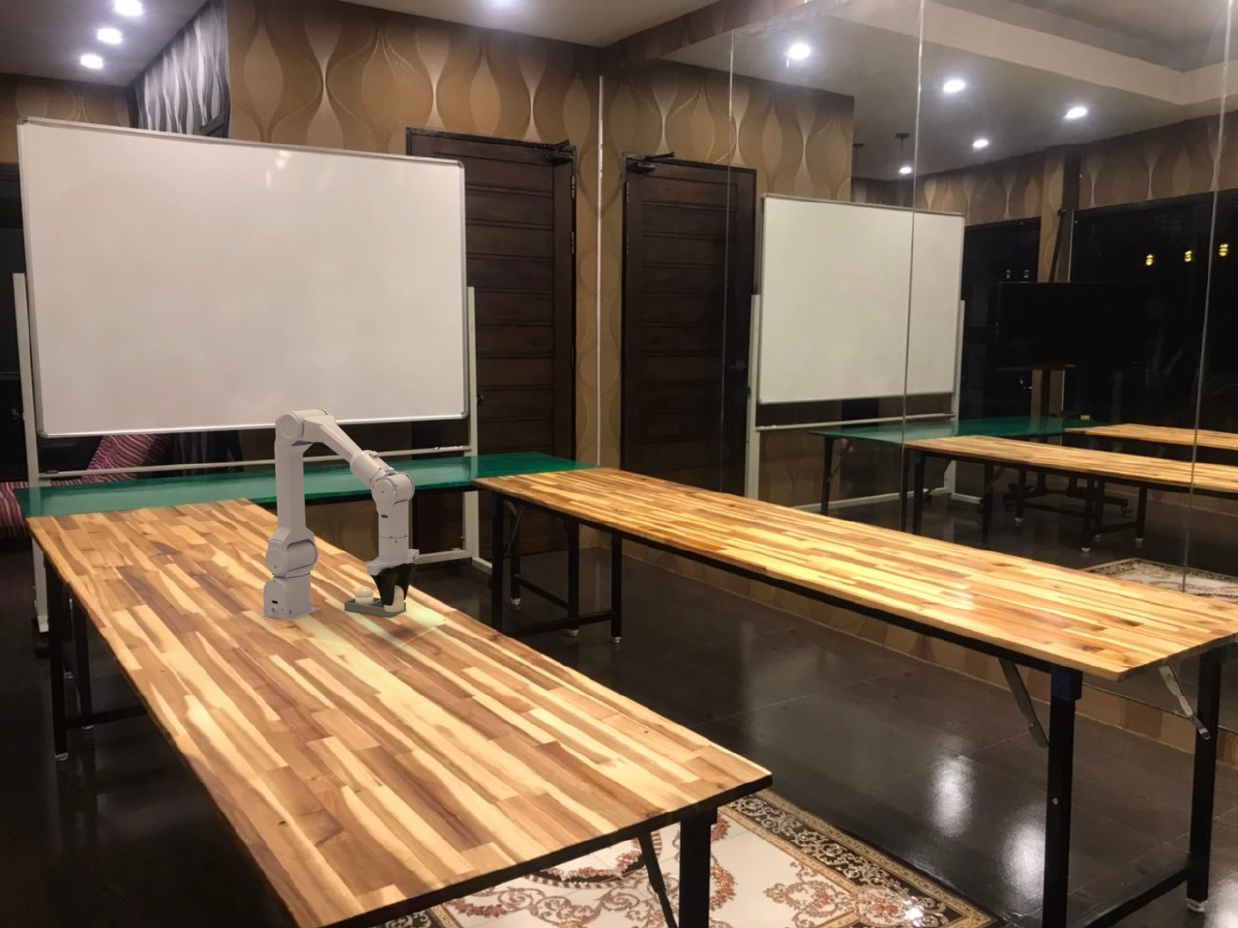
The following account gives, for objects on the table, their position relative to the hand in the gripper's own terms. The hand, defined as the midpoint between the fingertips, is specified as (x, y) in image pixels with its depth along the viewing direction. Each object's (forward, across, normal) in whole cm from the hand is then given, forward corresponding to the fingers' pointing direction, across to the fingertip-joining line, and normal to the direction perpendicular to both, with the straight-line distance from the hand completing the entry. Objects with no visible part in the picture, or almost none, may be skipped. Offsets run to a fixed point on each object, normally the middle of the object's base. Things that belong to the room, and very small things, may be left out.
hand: (393, 601), depth 186 cm
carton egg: (+6, +10, +15) cm, 19 cm away
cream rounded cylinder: (+2, 0, 0) cm, 2 cm away
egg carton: (+7, +10, +12) cm, 17 cm away
